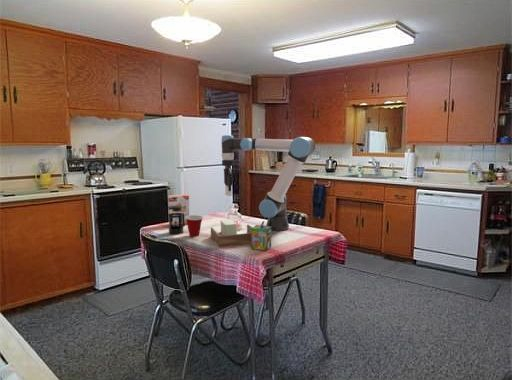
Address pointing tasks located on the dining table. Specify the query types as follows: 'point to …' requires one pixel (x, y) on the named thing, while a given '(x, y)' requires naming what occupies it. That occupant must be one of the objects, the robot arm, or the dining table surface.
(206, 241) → the dining table surface
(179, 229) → the french press
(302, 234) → the dining table surface
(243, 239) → the box
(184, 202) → the cracker box
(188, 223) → the plastic cup
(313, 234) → the dining table surface
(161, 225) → the dining table surface
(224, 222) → the tile block
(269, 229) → the chalk box
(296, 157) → the robot arm
